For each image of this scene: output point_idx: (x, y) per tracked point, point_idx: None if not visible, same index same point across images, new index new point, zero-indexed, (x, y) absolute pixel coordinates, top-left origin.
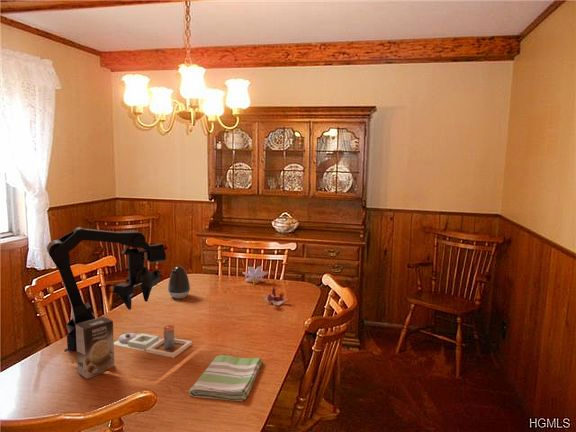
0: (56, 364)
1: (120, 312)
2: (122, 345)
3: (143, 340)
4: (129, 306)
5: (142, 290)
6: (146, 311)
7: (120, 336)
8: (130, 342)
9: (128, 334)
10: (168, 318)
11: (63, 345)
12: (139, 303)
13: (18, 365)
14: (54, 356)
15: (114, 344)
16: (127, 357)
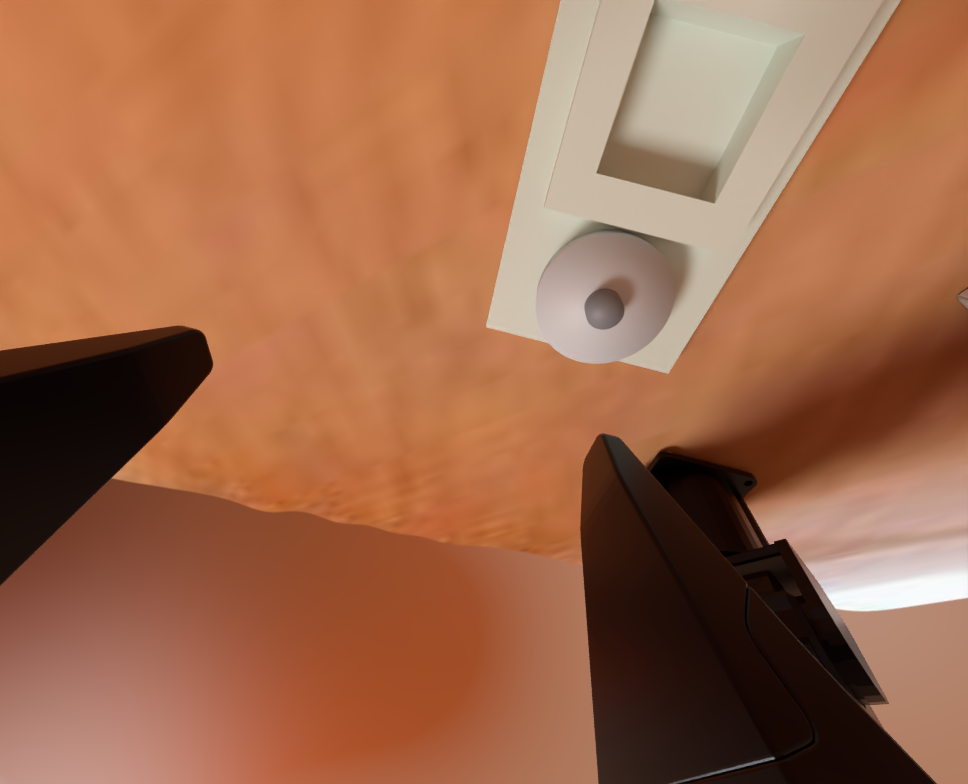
0: (852, 512)
1: (253, 478)
2: (708, 290)
3: (617, 149)
4: (652, 487)
5: (10, 556)
6: None
7: (601, 357)
8: (746, 222)
9: (605, 306)
10: (128, 177)
11: None
12: None
13: None
14: None
15: (680, 351)
16: (920, 150)
